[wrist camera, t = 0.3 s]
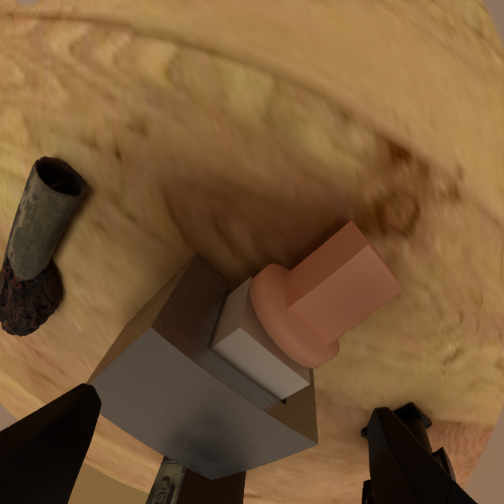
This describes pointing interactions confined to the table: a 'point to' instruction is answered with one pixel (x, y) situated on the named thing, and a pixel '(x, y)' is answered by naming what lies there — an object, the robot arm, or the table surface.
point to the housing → (196, 386)
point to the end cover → (301, 312)
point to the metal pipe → (37, 245)
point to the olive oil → (194, 486)
